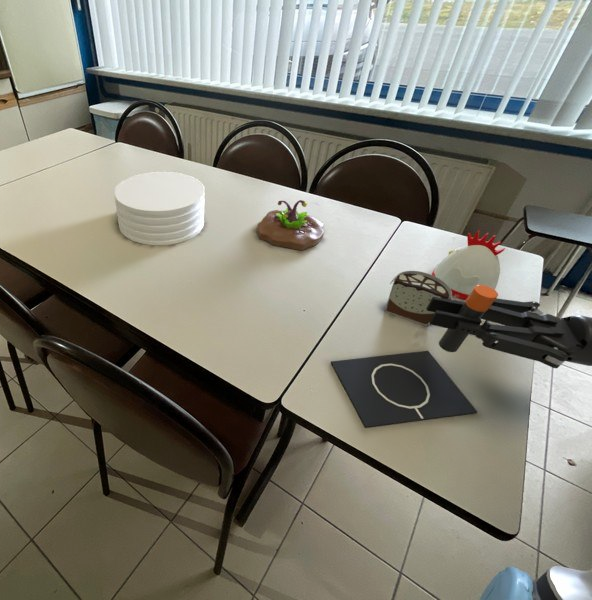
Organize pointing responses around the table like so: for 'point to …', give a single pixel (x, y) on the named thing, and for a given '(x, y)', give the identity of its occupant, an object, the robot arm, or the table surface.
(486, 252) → the kitchen timer
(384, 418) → the desk mat
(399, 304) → the food container
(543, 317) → the robot arm
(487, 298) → the marker
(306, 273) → the table surface
